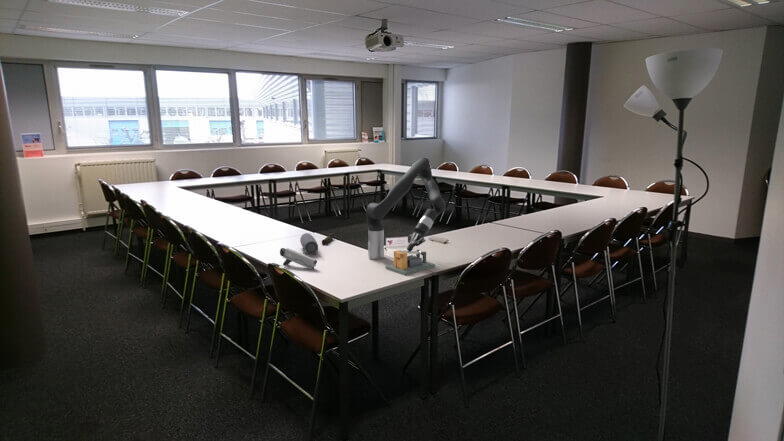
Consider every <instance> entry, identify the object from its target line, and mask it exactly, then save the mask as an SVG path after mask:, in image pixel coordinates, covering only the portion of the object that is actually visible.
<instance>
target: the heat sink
mask: <svg viewBox="0 0 784 441" xmlns="http://www.w3.org/2000/svg"><path fill="white" fill-rule="evenodd" d="M422 260H423V257H420V258H419V257H416V255H414V254H411V255H407V267H409V268H413V267H417V266H420V265H422Z"/></svg>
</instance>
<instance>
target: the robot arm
mask: <svg viewBox="0 0 784 441" xmlns="http://www.w3.org/2000/svg"><path fill="white" fill-rule="evenodd" d="M417 176H419V177H420V179H421V181H422V182H423V184H424V187H425V189H426V192H427V196H428V198H429V200H430V201H429V202H430V203H431V206H432V207H433V208H427V209H426V211H425V212H424V213H423V215H422V217H420V219H419V221H418V222H417V224H416V225H415V227H414V231H412V233H411V234H407V243H409V244H408V246H407V247H406V251H413V249H414V248H415V247H418V246H420V245H421V244H423V243H424V242H426V239H425V236H427V235H428V233H429V231H430V230H431V228H432V226H433V224H434V222H435V220H436V219H437V217H438V216H440V214H442V213H443V212H444V211H445V209H446V202H445V200H444V198H443V197H442V194H441V192H440V189H439V186H438V184H437V183H436V181H435V180H434V178H433V173H432V167H431V163H430V160H429V158H427V157H420V158H418V159H417V160H416V161H414V163H413V164H412V165H411V166H410V167H409V169H408V170H407V171H406V172H405V173H404V174H403V175H402V176H401V177H400V178H399V179H398V180H397V181H396V182H395V183H394V184H392V186H391V187H390V189H389V191H388V192H387V193H388V194H387V195H386V197H385V198H384V199H383V200H381V202H378V203H376V202H371V203H369V204H368V205H367V206H366V210H365V211H366V212H365V214H366V225H367V228H368V229H367V230H368V241H367V246H368V247H367V251H368V252H367V254H368V255H367V256H368V258H369V259H370V260H381V259H384V258H385V235H384V234H385V233H384V231H385V229H384V224H383V223H382V219H383V218H384V217H385V216H386V215H387V214H388V213H389V211H391V209H392V208H394V206H395V205H396V204H397V203H398V202H399V201H400V200H401V199H402V198H403V197H404V196H405V195H406V194H407V193H408V192H409V191H410V190H411V188H412V187H413V184H414V181H415V180H416V178H417Z"/></svg>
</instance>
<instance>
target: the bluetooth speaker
mask: <svg viewBox="0 0 784 441" xmlns="http://www.w3.org/2000/svg"><path fill="white" fill-rule="evenodd" d="M299 239H300V240H299V242H300V244H301V246H302V249H303V250H304V251H305V253H307V254H309V255H313V254H316V253H317V252H318V250H319V244H318V242H317V240H316V238H315V237H314V236H313V235H312V234H310V233H309V232H308V233H303V234H302V235H300V238H299Z"/></svg>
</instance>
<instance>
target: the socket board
mask: <svg viewBox="0 0 784 441" xmlns="http://www.w3.org/2000/svg"><path fill="white" fill-rule="evenodd" d="M415 251H421V250H420V249H416V250H415ZM420 255H421V254H416V255H415V256H416V257H419V258H421V256H420ZM434 266H435V267H436V263H433V262H430V261H427V251H423V255H422V265H420V266H417V267H413V268H409V267H407V269H403V270H401V269H399V268H397V267H396V268H395V267H394V263H391V264H388V265H385V269H386V270H390V271H392V272H394V273H397V274H401V275H403V276H407V274H408V275H410V274H415V273H417V272H420V271H421V272H422V271H425V270H428V269H431V268H435V267H434ZM427 268H428V269H427ZM424 269H425V270H424Z"/></svg>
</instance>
